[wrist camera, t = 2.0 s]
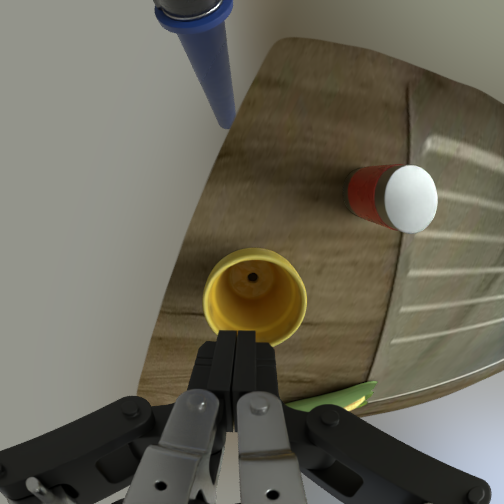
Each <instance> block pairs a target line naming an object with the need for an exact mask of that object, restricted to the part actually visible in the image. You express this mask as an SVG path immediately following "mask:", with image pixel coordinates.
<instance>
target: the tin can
mask: <svg viewBox="0 0 504 504" xmlns="http://www.w3.org/2000/svg"><path fill="white" fill-rule="evenodd" d="M343 199H344V202H345V204H346V206H347V208H348V209H349V210H350V211H351V212H352V213H353V214H355V215H356V216H359V217H361V218H363V219H365V220H368V221H371V222H374V223H376V224H379V225H382V226H385V227H387V228H390V229H393V230H397V231H401V232H404V233H408V234H414V233H418V232H420V231H422V230H424V229H425V228H426V227H427V226H428V225H429V224H430V223H431V221H432V219H433V217H434V215H435V212H436V208H437V191H436V187H435V184H434V182H433V180H432V178H431V177H430V175H429V174H428V173H427V172H426V171H425V170H424V169H422V168H421V167H419V166H416V165H402V164H395V165H381V166H369V167H364V168H359V169H356V170H354V171H352V172H351V173H350V174H349V175H348V177H347V178H346V180H345V182H344V185H343Z"/></svg>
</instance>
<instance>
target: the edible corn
mask: <svg viewBox="0 0 504 504" xmlns="http://www.w3.org/2000/svg"><path fill="white" fill-rule="evenodd" d="M377 383H378V382H377V381H372V382H367V383H362V384H359V385H356V386H353V387H350V388H347V389H344V390H340V391H336V392H332V393H328V394H324V395H320V396H316V397H311V398H307V399H302V400H298V401H294V402H290V403H286V405H287V406H289V407H291V408H293V409H296V410H301V411H307V412H310V411H311V410H312V409H313V408H315V407H316V406H319V405H323V404H334V405H338V406H340V407H342V408H344V409H346V410H347V411H351V410H353V409H356V408H358V407H361V406H363V405H366V404H367V403H368V402H366V401H365V400H367V399H368V398H370V397H371V396H372V394H373V393H374V392H372V391H371V390H372V389H374V387H375V385H376V384H377Z"/></svg>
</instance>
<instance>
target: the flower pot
mask: <svg viewBox="0 0 504 504" xmlns="http://www.w3.org/2000/svg"><path fill="white" fill-rule="evenodd" d="M250 273H256V274H257V276H258V278H257V280H256V281H250V280H249V279H248V275H249V274H250ZM202 306H203V312H204V316H205V319H206V321H207V323H208V325H209V326H210V328H211V329H212V330H213V332H214V333H215V334H216V335H217V336H218V332H219V330H237V336H238V330H255V331H256V342H269V344H270V345H271V346H272V347H273V346H275V345H278V344H280V343H281V342H283V341H285V340H286V339H287V338H289V337H290V336H291V335H292V334H293V333H294V332H295V331H296V330H297V329H298V327H299V326H300V324H301V322H302V320H303V318H304V315H305V312H306V306H307V296H306V291H305V287H304V284H303V282H302V280H301V278H300V276H299V275H298V273H297V272H296V270H295V269H294V267H293V266H292V265H291V264H290V263H289V262H288V261H287V260H286V259H285V258H284V257H282V256H281V255H279V254H277V253H275V252H273V251H271V250H267V249H263V248H245V249H241V250H237V251H235V252H233V253H230V254H228V255H227V256H225V257H224V258H223V259H221V260H220V261H219V262H218V263H217V264H216V266H215V267H214V268H213V270H212V271H211V273H210V275H209V277H208V279H207V282H206V284H205V288H204V292H203V298H202Z"/></svg>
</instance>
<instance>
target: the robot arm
mask: <svg viewBox="0 0 504 504" xmlns="http://www.w3.org/2000/svg"><path fill="white" fill-rule="evenodd" d="M153 1H154V3H155V5H156V7H157V9H158V10H162V11H163V12H164V14H165V15H166V16H167V17H168V18H170V19H172V20H175V21H180V22H189V21H196V20H200V19H203V18H205V17H207V16H209V15H211V14H213V13H214V12H215V11H217V10H218V9H219V8H220V6H221V5H222V3H223V1H224V0H153ZM233 427H235V432H238V448H239V477H240V497H241V503H237V504H307V499H306V495H305V490H304V486H303V481H302V477H301V472H302V473H303V474H304V475H305V476H307V477H308V478H309V479H311V480H312V481H313V482H315V483H316V484H317V485H319V486H320V487H321V488H323V489H324V490H326V491H327V492H328V493H330V494H331V495H332V496H334V497H335V498H337V499H338V500H340V501H341V502H343V503H344V504H489V503H490V500H491V488H490V486H489V485H488V483H487V482H486V481H484V480H483V479H480V478H478V477H475V476H473V475H470V474H468V473H466V472H463V471H461V470H459V469H456V468H454V467H452V466H449V465H447V464H445V463H443V462H441V461H439V460H437V459H435V458H432V457H430V456H428V455H426V454H424V453H422V452H420V451H418V450H416V449H414V448H412V447H411V446H409V445H406V444H405V443H403V442H401V441H399V440H397V439H396V438H394V437H392V436H390V435H388V434H386V433H384V432H383V431H381V430H379V429H378V428H376V427H374V426H372V425H371V424H369V423H367V422H366V421H364V420H362V419H360V418H359V417H357V416H356V415H354V414H352V413H351V412H349V411H347V410H346V409H344V408H342V407H340V406H338V405H334V404H323V405H319V406H316V407H315V408H313V409H312V410H311V411H310V412H307V411H301V410H296V409H293V408H291V407H289V406H287V405H286V404H284V403H283V402H282V400H281V399H280V397H279V393H278V382H277V372H276V361H275V350H274V349H273V347H272V346H271V345H270V344H269V342H256V331H255V330H238V336H237V330H219V332H218V337H217V342H212V341H206V342H205V343H204V344H203V345H202V346H201V347H200V348H199V350H198V354H197V358H196V360H195V365H194V367H193V371H192V374H191V378H190V381H189V385H188V388H187V391H186V392H184V393H182V394H181V395H180V396H179V397H178V398H177V400H176V402H175V403H172V404H168V405H161V406H152V407H151V405H150V403H149V402H148V401H147V400H146V399H144V398H142V397H138V396H127V397H123V398H121V399H119V400H117V401H115V402H113V403H111V404H109V405H107V406H105V407H103V408H101V409H99V410H97V411H95V412H92V413H91V414H88V415H86V416H84V417H82V418H80V419H78V420H75V421H73V422H71V423H69V424H67V425H64V426H62V427H60V428H58V429H55V430H53V431H51V432H48V433H46V434H43V435H41V436H39V437H36V438H34V439H32V440H29V441H26V442H24V443H21V444H18V445H16V446H13V447H10V448H8V449H5V450H2V451H0V492H1V493H2V494H3V495H4V496H5V497H6V498H7V500H8V503H9V504H94V503H96V502H98V501H100V500H102V499H104V498H106V497H108V496H110V495H112V494H114V493H116V492H118V491H120V490H121V489H123V488H125V487H127V486H129V485H130V487H129V489H128V492H127V494H126V496H125V498H123V499H120V500H118V501H116V502H114V503H112V504H216V490H217V484H218V479H219V474H220V469H221V464H222V459H223V455H224V450H225V446H224V445H225V441H226V432H233ZM300 471H301V472H300Z"/></svg>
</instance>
